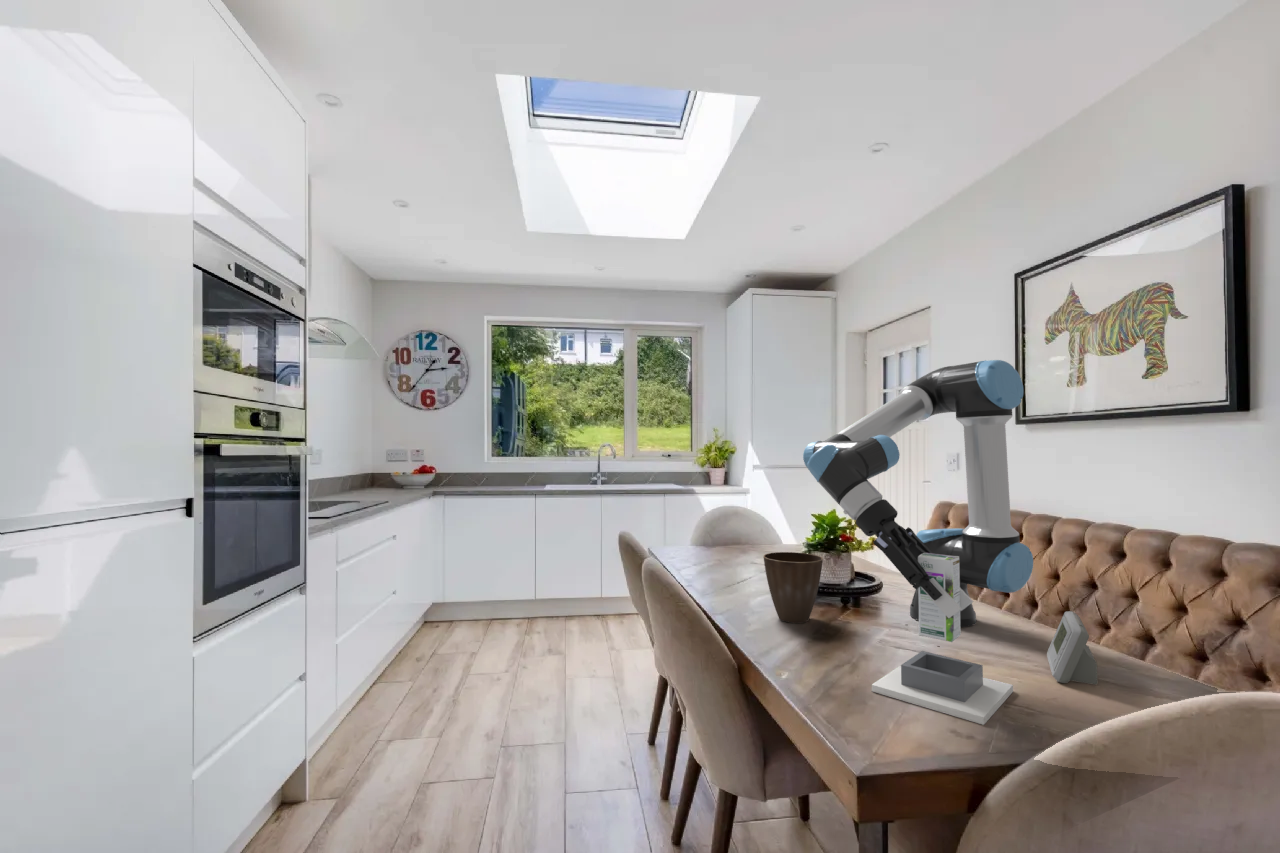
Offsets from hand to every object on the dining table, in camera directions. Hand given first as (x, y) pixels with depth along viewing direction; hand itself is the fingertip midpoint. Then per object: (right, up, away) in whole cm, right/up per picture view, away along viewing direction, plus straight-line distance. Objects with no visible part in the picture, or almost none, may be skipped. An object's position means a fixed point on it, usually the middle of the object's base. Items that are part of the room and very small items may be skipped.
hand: (961, 609), depth 102 cm
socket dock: (-2, -15, +2) cm, 16 cm away
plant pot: (-17, -17, +47) cm, 53 cm away
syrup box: (-3, -6, +2) cm, 7 cm away
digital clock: (+27, -16, +11) cm, 33 cm away
